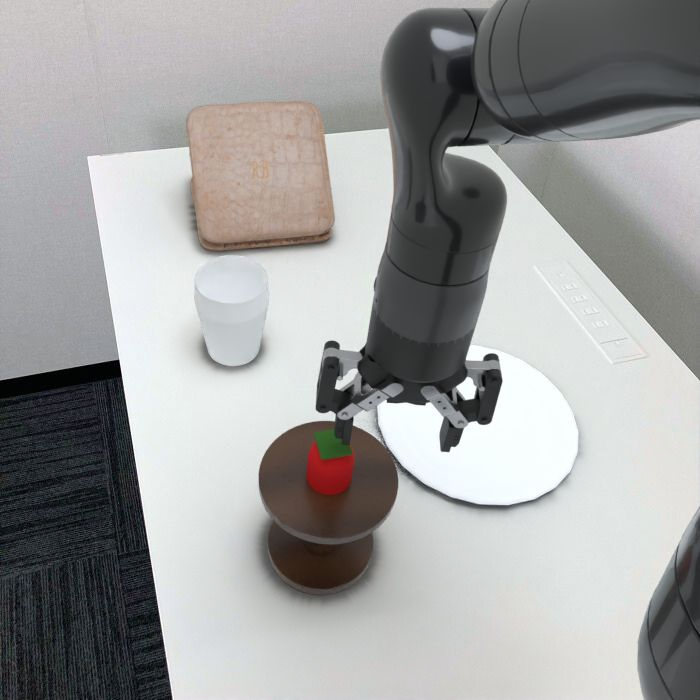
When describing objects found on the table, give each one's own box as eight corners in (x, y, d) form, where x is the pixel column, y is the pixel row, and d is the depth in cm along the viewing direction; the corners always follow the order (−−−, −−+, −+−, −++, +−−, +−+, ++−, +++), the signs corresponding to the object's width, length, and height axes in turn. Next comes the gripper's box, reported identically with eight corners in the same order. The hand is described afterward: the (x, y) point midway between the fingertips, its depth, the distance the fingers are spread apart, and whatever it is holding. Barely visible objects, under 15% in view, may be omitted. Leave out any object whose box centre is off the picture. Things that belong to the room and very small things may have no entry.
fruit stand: (397, 588, 75) (417, 522, 66) (272, 618, 72) (274, 552, 62) (361, 483, 83) (374, 411, 74) (247, 504, 80) (246, 432, 71)
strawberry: (356, 490, 67) (363, 457, 64) (312, 499, 66) (315, 466, 63) (344, 453, 70) (349, 419, 66) (301, 461, 69) (304, 427, 65)
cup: (251, 382, 92) (250, 313, 84) (185, 361, 94) (178, 291, 85) (279, 335, 98) (281, 266, 90) (217, 316, 100) (213, 246, 91)
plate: (397, 519, 81) (399, 513, 80) (360, 353, 97) (361, 347, 97) (608, 500, 85) (612, 494, 84) (537, 344, 102) (540, 338, 101)
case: (200, 257, 108) (193, 162, 96) (187, 177, 122) (180, 85, 110) (336, 247, 112) (345, 155, 101) (309, 170, 126) (314, 81, 115)
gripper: (323, 331, 49) (310, 471, 60) (534, 348, 50) (481, 482, 61) (327, 259, 54) (314, 401, 66) (518, 275, 55) (472, 412, 66)
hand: (395, 440), depth 63 cm, fingers open, 8 cm apart
